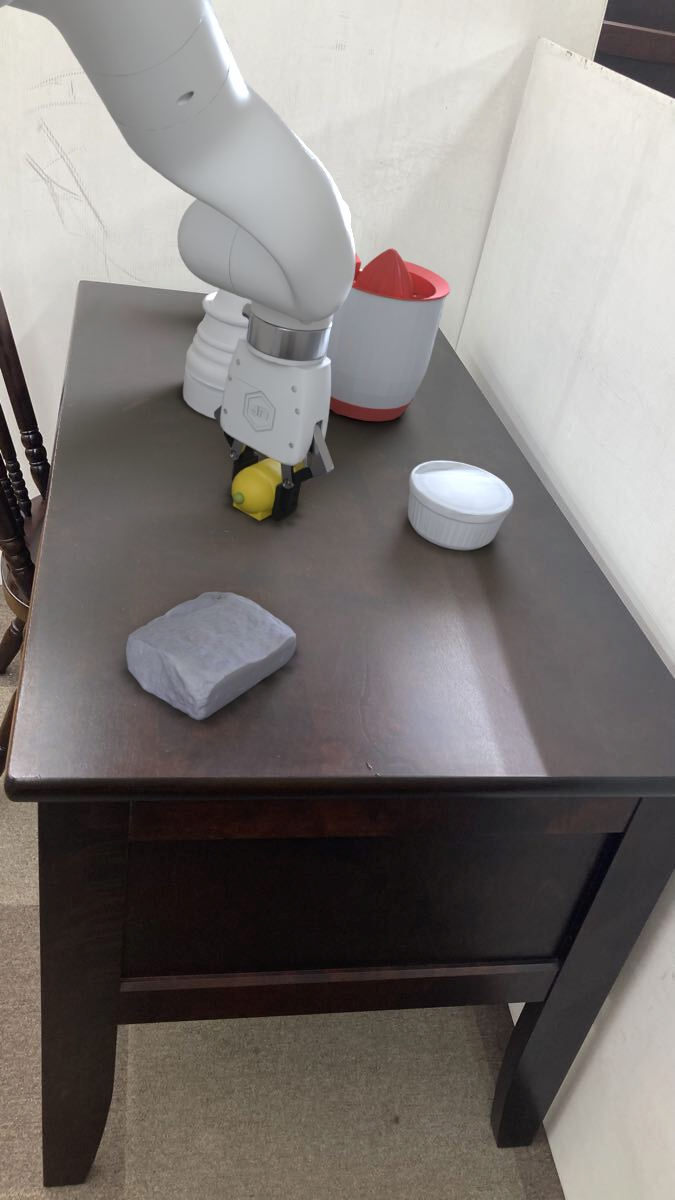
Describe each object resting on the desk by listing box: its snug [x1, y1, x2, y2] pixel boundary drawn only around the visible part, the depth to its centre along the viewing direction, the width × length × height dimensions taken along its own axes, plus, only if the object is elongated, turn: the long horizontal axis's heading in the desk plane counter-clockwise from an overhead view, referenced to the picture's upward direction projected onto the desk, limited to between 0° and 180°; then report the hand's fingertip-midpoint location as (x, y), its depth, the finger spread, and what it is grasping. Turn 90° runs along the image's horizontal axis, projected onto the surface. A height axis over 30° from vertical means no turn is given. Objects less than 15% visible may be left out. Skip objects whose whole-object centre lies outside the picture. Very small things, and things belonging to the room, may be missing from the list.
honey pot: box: [182, 288, 252, 420], centre depth 106 cm, size 13×13×18 cm
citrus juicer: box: [326, 247, 451, 422], centre depth 112 cm, size 16×17×20 cm
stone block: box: [125, 591, 297, 721], centre depth 71 cm, size 12×5×10 cm
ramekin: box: [407, 460, 515, 551], centre depth 95 cm, size 11×11×5 cm
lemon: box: [231, 457, 295, 522], centre depth 91 cm, size 10×5×5 cm, turn 144°
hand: (262, 501), depth 93 cm, fingers closed on lemon, 4 cm apart
